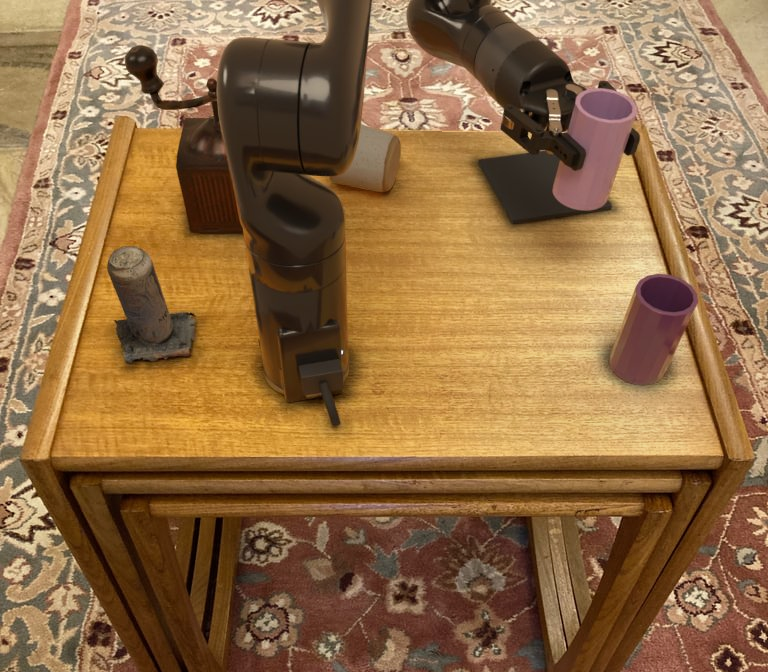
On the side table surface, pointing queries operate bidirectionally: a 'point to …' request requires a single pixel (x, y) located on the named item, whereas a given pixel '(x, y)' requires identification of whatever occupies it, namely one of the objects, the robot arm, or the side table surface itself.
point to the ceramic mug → (373, 161)
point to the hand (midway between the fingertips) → (608, 154)
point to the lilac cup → (595, 147)
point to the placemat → (527, 186)
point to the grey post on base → (146, 310)
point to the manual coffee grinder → (195, 152)
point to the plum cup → (652, 328)
